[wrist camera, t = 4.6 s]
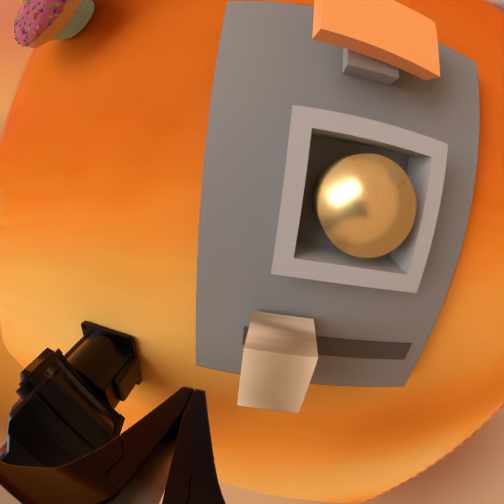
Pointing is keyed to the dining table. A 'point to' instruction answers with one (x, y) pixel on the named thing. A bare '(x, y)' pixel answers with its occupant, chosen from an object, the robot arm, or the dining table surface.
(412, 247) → the panel
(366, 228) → the button
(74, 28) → the cupcake
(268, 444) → the dining table surface
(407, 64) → the rocker
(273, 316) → the tan rectangular prism
